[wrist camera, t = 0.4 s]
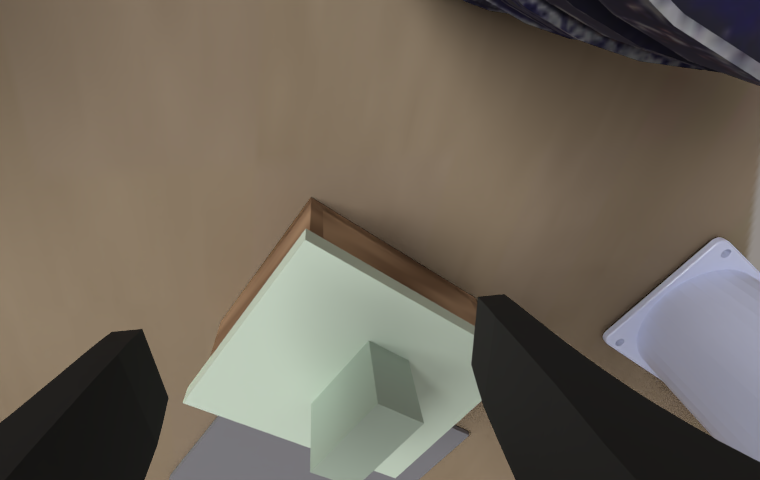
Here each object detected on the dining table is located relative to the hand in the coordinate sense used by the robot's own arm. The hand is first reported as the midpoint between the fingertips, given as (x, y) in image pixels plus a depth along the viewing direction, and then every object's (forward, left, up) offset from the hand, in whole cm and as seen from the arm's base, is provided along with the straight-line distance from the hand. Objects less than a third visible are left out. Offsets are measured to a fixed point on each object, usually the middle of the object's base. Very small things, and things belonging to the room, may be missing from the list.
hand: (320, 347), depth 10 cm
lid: (-5, +5, -6) cm, 9 cm away
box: (-5, +5, -10) cm, 12 cm away
